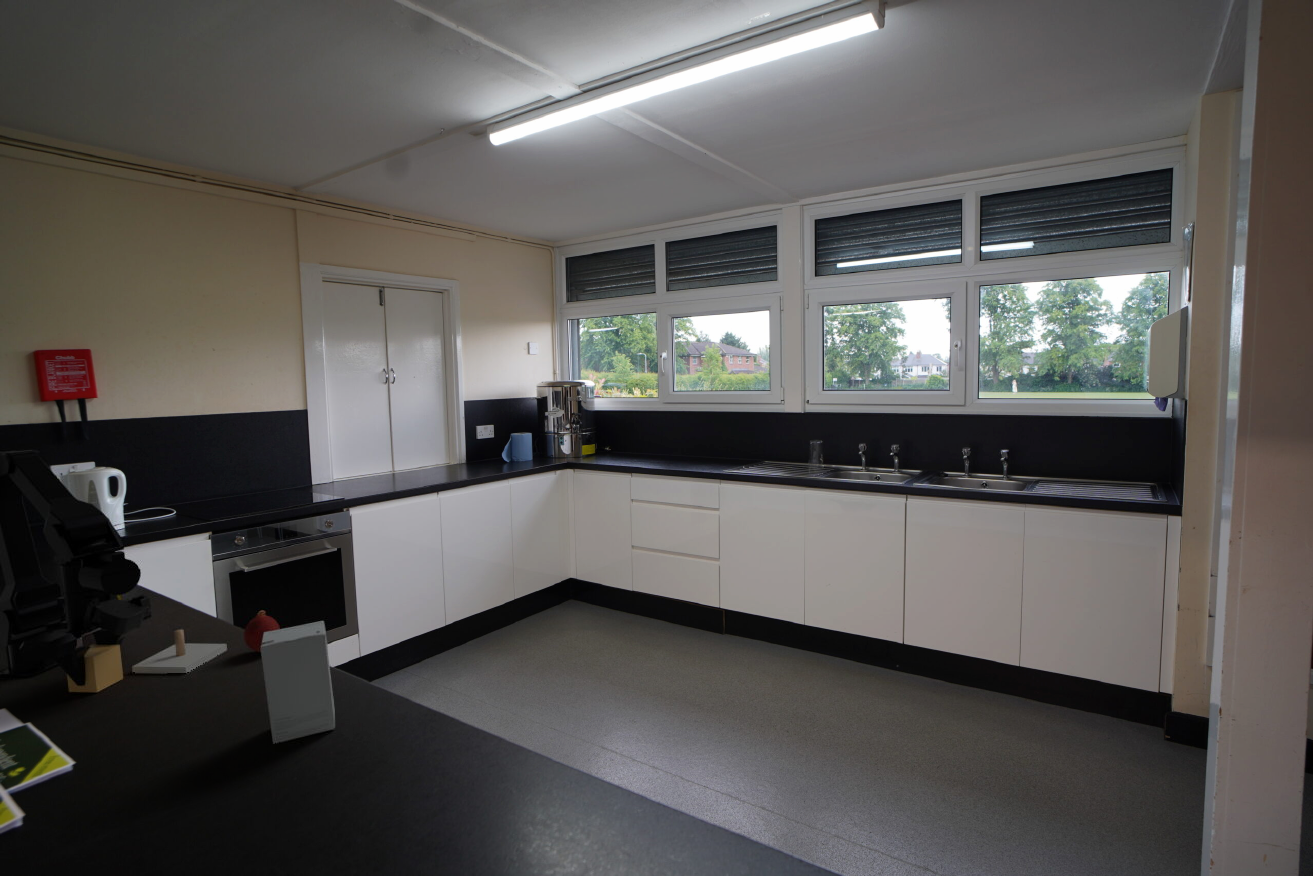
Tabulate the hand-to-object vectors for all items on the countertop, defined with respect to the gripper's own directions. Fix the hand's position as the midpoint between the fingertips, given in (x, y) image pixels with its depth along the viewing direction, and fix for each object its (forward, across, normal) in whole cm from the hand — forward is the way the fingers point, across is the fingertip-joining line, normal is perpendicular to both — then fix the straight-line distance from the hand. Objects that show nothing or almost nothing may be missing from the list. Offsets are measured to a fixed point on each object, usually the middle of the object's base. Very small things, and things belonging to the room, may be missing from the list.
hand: (95, 678), depth 114 cm
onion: (+2, +14, -20) cm, 24 cm away
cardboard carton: (+1, 0, 0) cm, 1 cm away
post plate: (+1, +10, -7) cm, 12 cm away
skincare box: (+2, -12, -44) cm, 46 cm away
